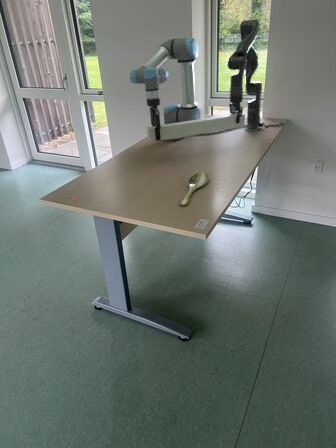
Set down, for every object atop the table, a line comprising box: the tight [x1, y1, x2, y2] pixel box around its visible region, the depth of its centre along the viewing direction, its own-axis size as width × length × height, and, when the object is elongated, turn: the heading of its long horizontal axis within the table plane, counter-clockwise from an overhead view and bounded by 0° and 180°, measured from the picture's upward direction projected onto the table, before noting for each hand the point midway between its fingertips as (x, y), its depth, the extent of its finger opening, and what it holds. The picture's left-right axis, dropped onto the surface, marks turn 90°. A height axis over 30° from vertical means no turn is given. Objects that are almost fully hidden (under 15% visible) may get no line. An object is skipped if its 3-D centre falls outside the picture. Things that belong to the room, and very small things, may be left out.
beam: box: [146, 112, 246, 143], centre depth 203 cm, size 61×5×8 cm, turn 107°
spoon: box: [180, 171, 210, 207], centre depth 170 cm, size 35×11×2 cm, turn 159°
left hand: (157, 138), depth 199 cm, fingers closed on beam, 5 cm apart
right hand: (235, 121), depth 209 cm, fingers closed on beam, 5 cm apart
